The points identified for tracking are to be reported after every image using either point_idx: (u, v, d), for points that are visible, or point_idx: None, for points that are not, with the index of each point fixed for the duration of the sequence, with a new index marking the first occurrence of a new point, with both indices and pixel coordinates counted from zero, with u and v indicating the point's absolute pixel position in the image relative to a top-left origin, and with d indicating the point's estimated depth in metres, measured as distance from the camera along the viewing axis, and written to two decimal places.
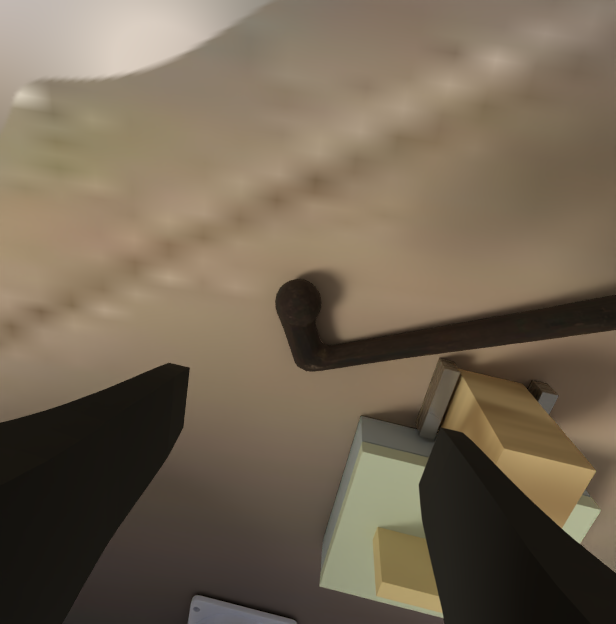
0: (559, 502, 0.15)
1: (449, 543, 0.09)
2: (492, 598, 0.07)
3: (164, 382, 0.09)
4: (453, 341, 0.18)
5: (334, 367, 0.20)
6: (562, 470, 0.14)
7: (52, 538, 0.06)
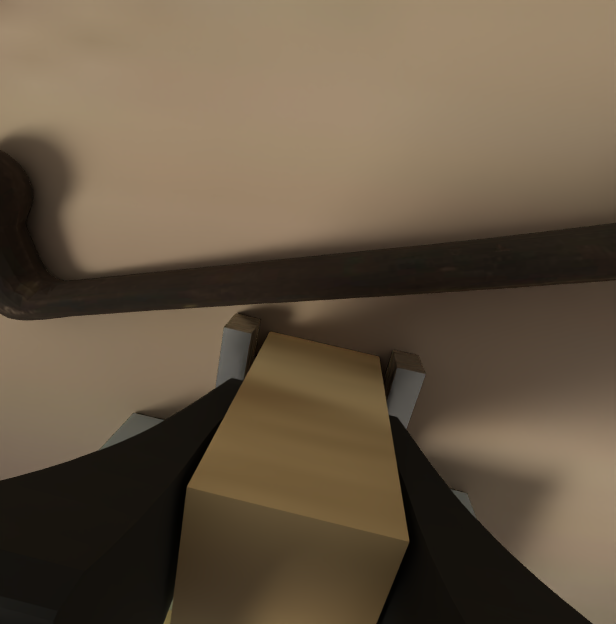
0: (343, 609, 0.06)
1: None
2: None
3: None
4: (231, 284, 0.10)
5: (44, 314, 0.11)
6: (331, 539, 0.06)
7: (159, 565, 0.06)
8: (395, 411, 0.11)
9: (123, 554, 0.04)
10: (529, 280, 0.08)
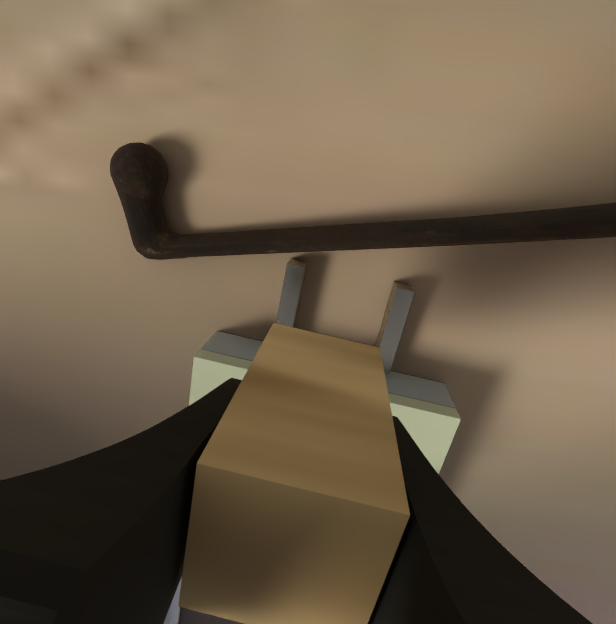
0: (345, 581, 0.07)
1: None
2: (392, 573, 0.07)
3: None
4: (299, 238, 0.16)
5: (173, 254, 0.17)
6: (335, 513, 0.06)
7: (159, 565, 0.06)
8: (395, 318, 0.17)
9: (123, 554, 0.04)
10: (474, 239, 0.15)
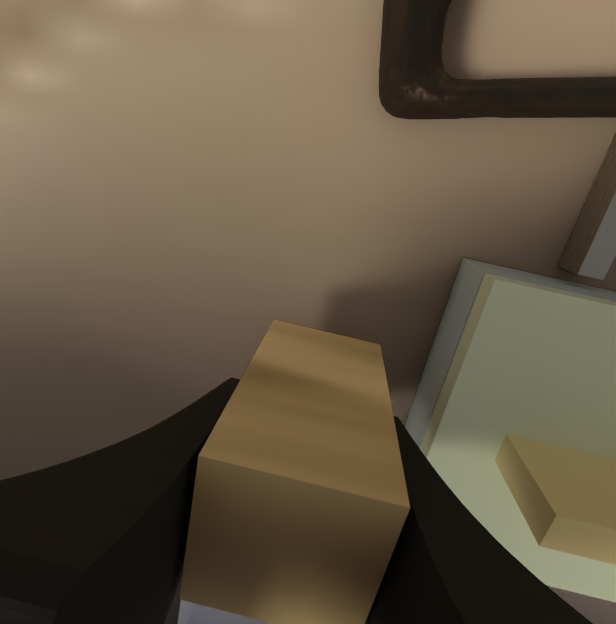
0: (346, 574, 0.07)
1: None
2: (392, 573, 0.07)
3: None
4: None
5: (457, 103, 0.10)
6: (336, 505, 0.06)
7: (158, 565, 0.06)
8: None
9: (123, 554, 0.04)
10: None
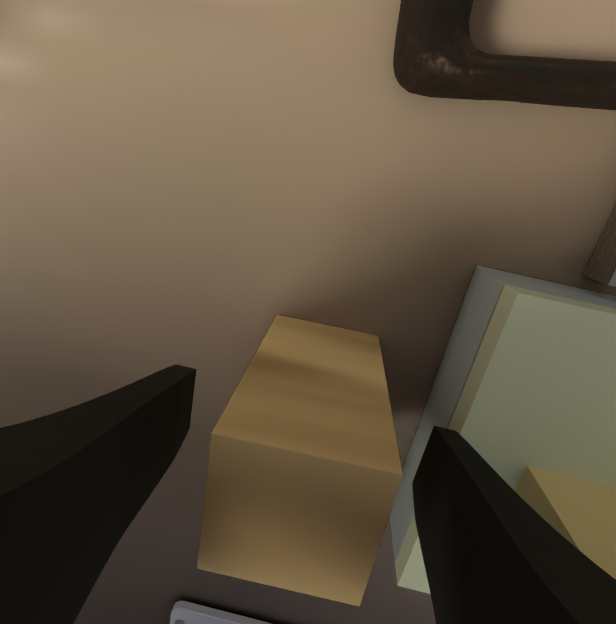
0: (347, 539, 0.07)
1: (441, 541, 0.09)
2: (481, 595, 0.07)
3: (171, 384, 0.09)
4: None
5: (483, 80, 0.09)
6: (336, 475, 0.07)
7: (63, 541, 0.06)
8: None
9: None
10: None
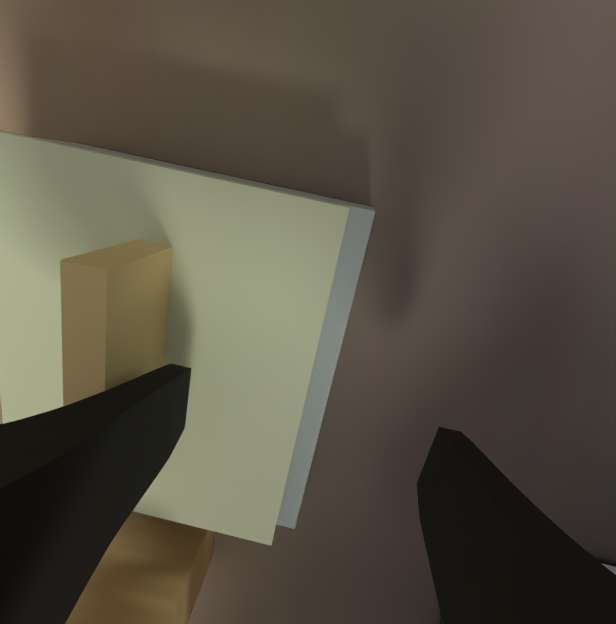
0: None
1: (447, 542, 0.09)
2: (489, 597, 0.07)
3: (166, 383, 0.09)
4: None
5: None
6: None
7: (55, 539, 0.06)
8: None
9: None
10: None
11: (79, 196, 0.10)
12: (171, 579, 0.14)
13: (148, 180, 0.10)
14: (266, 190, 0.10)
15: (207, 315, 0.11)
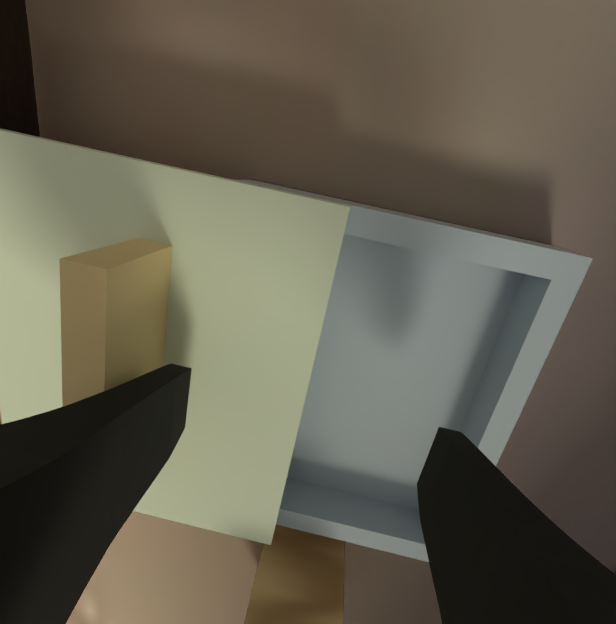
0: None
1: (447, 543, 0.09)
2: (489, 597, 0.07)
3: (166, 383, 0.09)
4: None
5: None
6: None
7: (55, 539, 0.06)
8: None
9: None
10: None
11: (79, 194, 0.10)
12: (329, 620, 0.14)
13: (148, 179, 0.10)
14: (266, 189, 0.10)
15: (207, 314, 0.11)
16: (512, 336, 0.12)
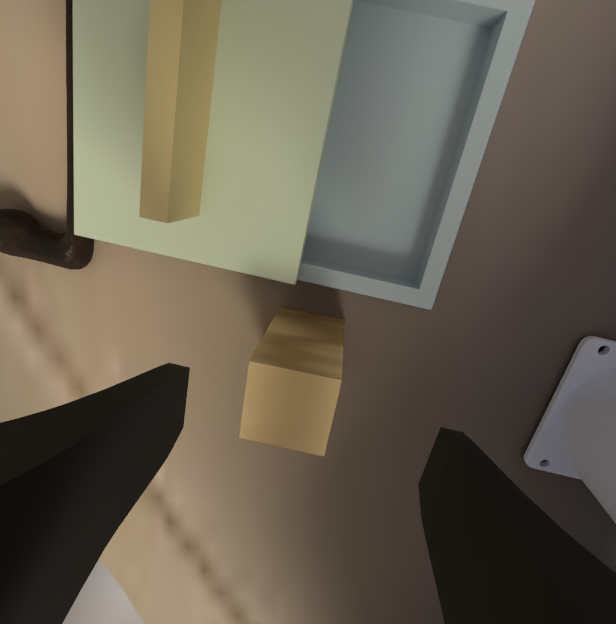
0: (293, 384, 0.14)
1: (449, 544, 0.09)
2: (492, 598, 0.07)
3: (164, 382, 0.09)
4: (67, 98, 0.16)
5: None
6: (254, 389, 0.15)
7: (52, 538, 0.06)
8: None
9: None
10: None
11: None
12: (332, 346, 0.17)
13: None
14: None
15: (249, 50, 0.14)
16: (480, 82, 0.15)
